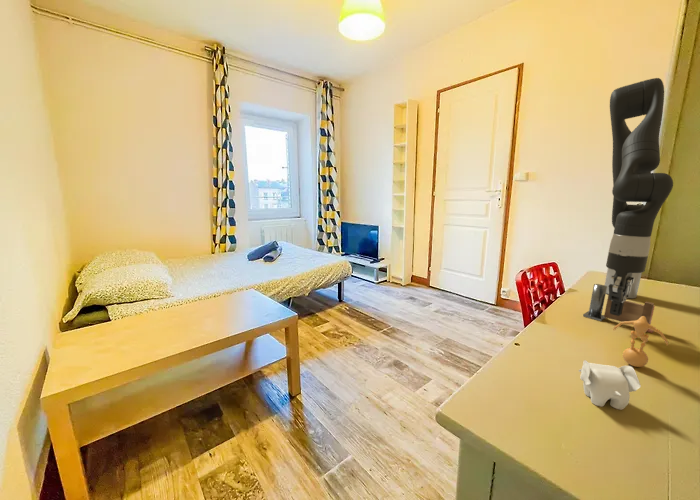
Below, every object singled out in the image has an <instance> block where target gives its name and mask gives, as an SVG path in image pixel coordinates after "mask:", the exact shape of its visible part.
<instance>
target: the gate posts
mask: <svg viewBox="0 0 700 500" xmlns="http://www.w3.org/2000/svg"><path fill="white" fill-rule="evenodd" d="M606 289H607V286H605V284H601V283H600V284H599V283H594V284H593V288H592V293H591V298H590V304H589V309H588V311H586V312H585V313H583V318H588V319H591V320H594V321H600V322H602V321H603V320H606V318H605V317H604V314H603V309H604V303H605V300H606V299H605V298H606V294H607V293H606ZM655 307H656V306H655V305H654V306H653V310H652V315H651V319H650V323H649V324H650V325H652V319H653V315H654V310H655ZM653 327H654V328H656V327H655V326H653ZM646 332H647V333H651V334H653V333H654V332H655V331H653V330H651V329H648V330H647V331H646Z"/></svg>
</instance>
